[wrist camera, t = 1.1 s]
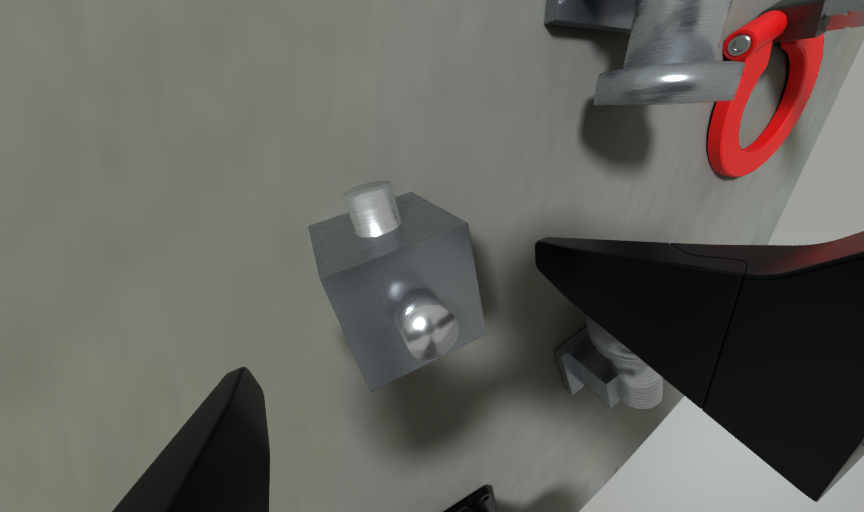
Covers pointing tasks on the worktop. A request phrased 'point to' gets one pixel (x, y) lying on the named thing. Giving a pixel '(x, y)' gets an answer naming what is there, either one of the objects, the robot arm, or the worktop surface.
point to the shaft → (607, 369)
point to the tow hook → (751, 44)
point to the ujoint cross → (398, 280)
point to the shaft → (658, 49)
